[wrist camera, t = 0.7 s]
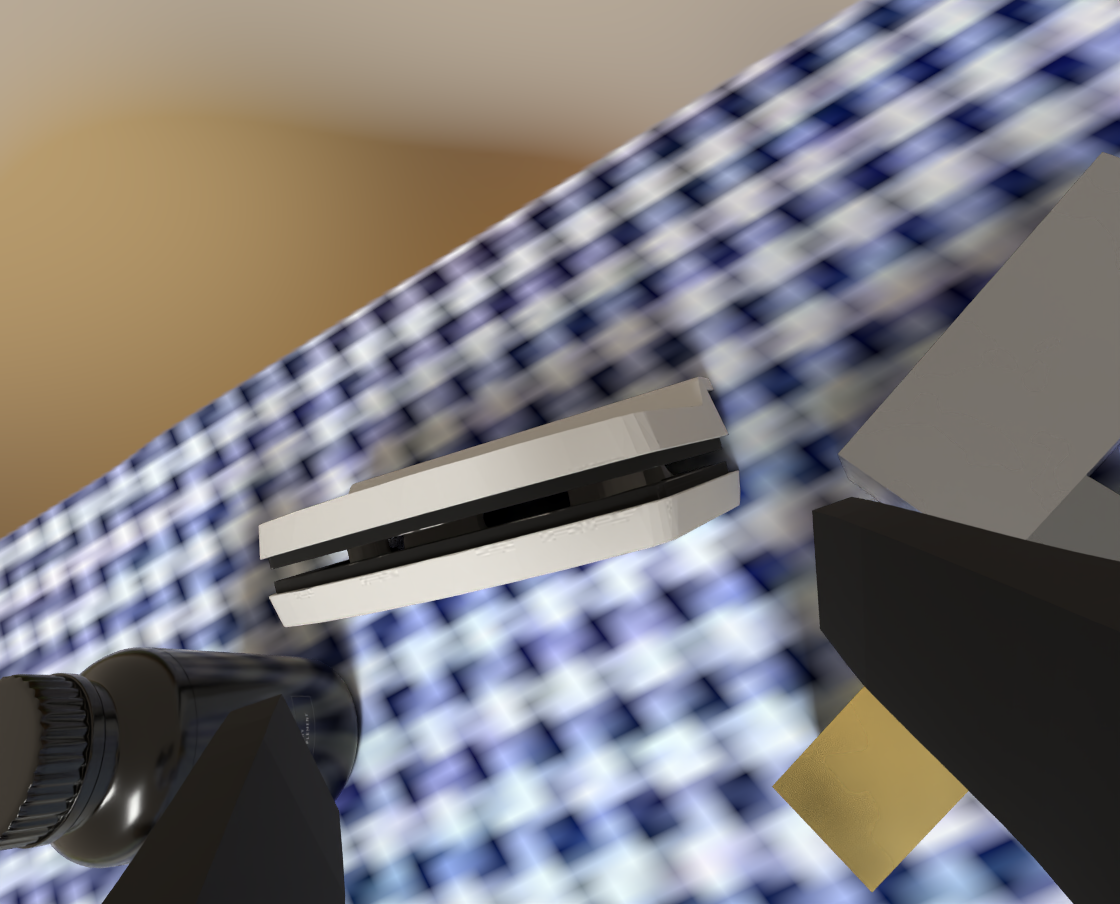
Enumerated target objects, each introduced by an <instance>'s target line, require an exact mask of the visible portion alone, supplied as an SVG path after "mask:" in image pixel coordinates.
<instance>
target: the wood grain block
mask: <svg viewBox="0 0 1120 904" xmlns="http://www.w3.org/2000/svg"><path fill="white" fill-rule="evenodd" d="M772 787H773V788H774V789H775V790H776V791H777V792H778V793H779V794H780V795H781V796H782V798H783V799H784V800H785V801H786V802H787V803H788V804H789V805H790V806H791V807H792V808H793V809H794V810H795V811H796V812H797V813H798V814H799V816H800V817H801V818H802V819H803V820H804V821H805V822H806V823H807V824H808V825H809V826H810V827H811V828H812V829H813V830H814V831H815V832H816V833H817V835H818V836H819V837H820V838H821V839H822V840H823V841H824V842H825V843H826V844H827V845H828V846H829V847H830V848H831V849H832V850H833V851H834V853H835V854H836V855H837V856H838V857H839V858H840V859H841V860H842V861H843V862H844V863H845V864H846V865H847V866H848V867H849V868H850V869H851V871H852V872H853V873H854V874H855V875H856V876H857V877H858V878H859V879H860V880H861V881H862V882H863V883H864V884H865V885H866V886H867V887H868V889H869V890H870V891H871V892H873V891H874V890H875V889H876V888H877V886H878V885H879V884H880V883H881V882H882V881H883V880H884V879H885V878H886V877H887V876H888V875H889V874H890V873H891V872H892V871H893V870H894V869H895V868H896V866H897V865H898V864H899V863H900V862H901V861H902V860H903V859H904V858H905V857H906V856H907V855H908V854H909V853H910V852H911V851H912V850H913V849H914V848H915V846H916V845H917V844H918V843H919V842H920V841H921V840H922V839H923V838H924V837H925V836H926V835H927V834H928V833H929V832H930V831H931V830H932V829H933V828H934V827H935V825H936V824H937V823H938V822H939V821H940V820H941V819H942V818H943V817H944V816H945V815H946V814H947V813H948V812H949V811H950V810H951V809H952V808H953V807H954V805H955V804H956V803H957V802H958V801H959V800H960V799H961V798H962V797H963V796H964V795H965V794H966V793H967V792H968V790H967V789H966V788H965V787H964V786H963V785H962V784H961V783H960V782H959V781H958V780H957V779H956V778H955V777H954V776H953V775H952V774H951V773H950V772H949V771H948V770H947V769H946V768H945V767H944V766H943V765H942V764H941V763H940V762H939V761H938V760H937V759H936V758H935V757H934V756H933V755H932V754H931V753H930V752H929V751H928V750H927V749H926V748H925V747H924V746H923V745H922V744H921V743H920V742H919V741H918V740H917V739H916V738H915V737H914V736H913V735H912V734H911V733H910V732H909V731H908V730H907V729H906V728H905V727H904V726H903V725H902V724H901V723H900V722H899V721H898V720H897V719H896V718H895V717H894V716H893V715H892V714H891V713H890V712H889V711H888V710H887V709H886V708H885V707H884V706H883V705H882V704H881V703H880V702H879V701H878V700H877V699H876V698H875V697H874V696H873V695H872V694H871V693H870V692H869V691H868V690H867V689H866V687H865V686H864V687H863V688H862V689H861V690H860V691H859V692H858V693H857V695H856V696H855V697H854V698H853V699H852V700H851V701H850V702H849V703H848V704H847V705H846V707H845V708H844V709H843V710H842V711H841V712H840V713H839V714H838V715H837V716H836V717H835V719H834V720H833V721H832V722H831V723H830V724H829V725H828V726H827V727H826V728H825V729H824V731H823V732H822V733H821V734H820V735H819V736H818V737H817V738H816V739H815V740H814V741H813V743H812V744H811V745H810V746H809V747H808V748H807V749H806V750H805V751H804V752H803V753H802V755H801V756H800V757H799V758H798V759H797V760H796V761H795V762H794V763H793V764H792V765H791V767H790V768H789V769H788V770H787V771H786V772H785V773H784V774H783V775H782V776H781V778H780V779H779V780H778V781H777V782H776V783H775V784H774V785H773V786H772Z"/></svg>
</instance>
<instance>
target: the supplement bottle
mask: <svg viewBox="0 0 1120 904" xmlns="http://www.w3.org/2000/svg"><path fill="white" fill-rule="evenodd" d="M279 694H282V695H283V697H284V699H285V701H286V703H287V705H288V707H289V709H290V711H291V713H292V715H293V717H294V719H295V721H296V723H297V726H298V728H299V730H300V732H301V734H302V736H303V738H304V740H305V742H306V744H307V746H308V748H309V750H310V752H311V754H312V756H313V758H314V761H315V763H316V765H317V767H318V769H319V771H320V773H321V775H322V777H323V779H324V781H325V783H326V785H327V787H328V789H329V791H330V793H331V796H332V798H333V800H334V802H335V800H336V799H337V798H338V796H339V795H340V793H341V792H342V790H343V788H344V786H345V784H346V782H347V780H348V778H349V775H350V773H351V770H352V767H353V764H354V760H355V755H356V750H357V742H358V722H357V714H356V709H355V705H354V702H353V699H352V696H351V694H350V691H349V689H348V687H347V686H346V684H345V682H344V681H343V679H342V678H341V677H340V676H339V675H338V673H337V672H336V671H334V670H333V669H332V668H331V667H329V666H328V665H326V664H324V663H322V662H320V661H318V660H315V659H310V658H303V657H292V656H277V655H261V654H245V653H230V652H214V651H198V650H182V649H166V648H128V649H124V650H120V651H117V652H115V653H112V654H110V655H107V656H105V657H103V658H102V659H100V660H98V661H96V662H95V663H93V664H92V665H90V666H89V667H88V668H86V669H85V670H84V671H83V672H82V673H81V674H80V675H78V674H68V673H56V674H52V675H28V674H18V675H12V676H7V677H3V678H2V679H1V680H0V850H6V849H12V848H22V849H25V848H33V847H38V846H43V845H47V844H51V846H52V847H53V848H54V849H55V850H56V851H57V852H58V853H59V854H61V855H62V856H63V857H65V858H66V859H68V860H70V861H72V862H74V863H76V864H79V865H82V866H86V867H91V868H106V867H113V866H120V865H125V864H130V862H131V861H132V859H133V858H134V856H135V855H136V853H137V852H138V850H139V849H140V847H141V846H142V844H143V843H144V841H145V840H146V838H147V837H148V835H149V834H150V832H151V831H152V829H153V828H154V826H155V825H156V823H157V822H158V820H159V819H160V817H161V816H162V814H163V813H164V811H165V810H166V808H167V807H168V805H169V804H170V802H171V801H172V799H173V798H174V796H175V795H176V793H177V792H178V790H179V789H180V787H181V785H182V784H183V782H184V781H185V779H186V778H187V776H188V775H189V773H190V772H191V770H192V768H193V767H194V765H195V764H196V762H197V761H198V759H199V758H200V756H201V755H202V753H203V751H204V750H205V748H206V747H207V745H208V744H209V742H210V741H211V739H212V738H213V736H214V735H215V733H216V732H217V730H218V729H219V727H220V726H221V724H222V723H223V721H224V720H225V718H226V717H227V716H228V714H229V713H230V711H233V710H236V709H239V708H242V707H245V706H248V705H250V704H253V703H256V702H259V701H262V700H265V699H268V698H271V697H274V696H277V695H279Z"/></svg>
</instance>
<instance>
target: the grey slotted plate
mask: <svg viewBox="0 0 1120 904" xmlns="http://www.w3.org/2000/svg"><path fill="white" fill-rule="evenodd" d="M1119 444H1120V158H1118V157H1116V156H1113V155H1110V154H1107V153H1104V152H1102V153H1101V154H1100V155H1099V157H1098V158H1097V159H1096V160H1095V161H1094V162H1093V163H1092V165H1091V166H1090V167H1089V168H1088V169H1087V170H1086V171H1085V173H1084V174H1083V175H1082V176H1081V177H1080V178H1079V179H1078V181H1077V182H1076V183H1075V184H1074V185H1073V186H1072V187H1071V189H1070V190H1069V191H1068V192H1067V193H1066V194H1065V195H1064V197H1063V198H1062V199H1061V200H1060V201H1059V202H1058V203H1057V205H1056V206H1055V207H1054V208H1053V209H1052V210H1051V211H1050V213H1049V214H1048V215H1047V216H1046V217H1045V218H1044V219H1043V221H1042V222H1041V223H1040V224H1039V225H1038V226H1037V227H1036V229H1035V230H1034V231H1033V232H1032V233H1031V234H1030V235H1029V236H1028V238H1027V239H1026V240H1025V241H1024V242H1023V243H1022V244H1021V246H1020V247H1019V248H1018V249H1017V250H1016V251H1015V252H1014V254H1013V255H1012V256H1011V257H1010V258H1009V259H1008V260H1007V262H1006V263H1005V264H1004V265H1003V266H1002V267H1001V268H1000V270H999V271H998V272H997V273H996V274H995V275H994V276H993V278H992V279H991V280H990V281H989V282H988V283H987V284H986V286H985V287H984V288H983V289H982V290H981V291H980V292H979V294H978V295H977V296H976V297H975V298H974V299H973V300H972V302H971V303H970V304H969V305H968V306H967V307H966V308H965V310H964V311H963V312H962V313H961V314H960V315H959V316H958V318H957V319H956V320H955V321H954V322H953V323H952V324H951V325H950V327H949V328H948V329H947V330H946V331H945V332H944V333H943V335H942V336H941V337H940V338H939V339H938V340H937V341H936V343H935V344H934V345H933V346H932V347H931V348H930V349H929V351H928V352H927V353H926V354H925V355H924V356H923V357H922V359H921V360H920V361H919V362H918V363H917V364H916V365H915V367H914V368H913V369H912V370H911V371H910V372H909V373H908V375H907V376H906V377H905V378H904V379H903V380H902V381H901V383H900V384H899V385H898V386H897V387H896V388H895V389H894V391H893V392H892V393H891V394H890V395H889V396H888V397H887V399H886V400H885V401H884V402H883V403H882V404H881V405H880V406H879V408H878V409H877V410H876V411H875V412H874V413H873V414H872V416H871V417H870V418H869V419H868V420H867V421H866V422H865V424H864V425H863V426H862V427H861V428H860V429H859V430H858V432H857V433H856V434H855V435H854V436H853V437H852V438H851V440H850V441H849V442H848V443H847V444H846V445H845V446H844V448H843V449H842V450H841V451H840V452H839V453H838V455H839V458H840V460H841V463H842V465H843V467H844V470H845V472H846V474H847V477H848V479H849V480H850V481H852V482H853V483H855V484H856V485H858V486H859V487H860V488H862V489H863V490H865V491H866V492H867V493H869V494H870V495H872V496H873V497H874V498H876V499H877V500H879V501H880V502H881V503H884V504H888V505H893V506H897V507H901V508H905V509H909V510H913V511H916V512H920V513H924V514H928V515H932V516H936V517H939V518H943V519H947V520H951V521H955V522H958V523H962V524H966V525H970V526H974V527H978V528H981V529H985V530H989V531H993V532H997V533H1001V534H1005V535H1009V536H1013V537H1016V538H1020V539H1024V540H1028V541H1033V542H1037V543H1041V544H1045V545H1049V546H1053V547H1057V548H1062V549H1066V550H1070V551H1074V552H1079V553H1083V554H1088V555H1093V556H1097V557H1102V558H1107V559H1111V560H1116V561H1120V495H1119V494H1117V493H1116V492H1114V491H1112V490H1110V489H1109V488H1107V487H1105V486H1104V485H1102V484H1100V483H1098V482H1097V481H1095V480H1093V479H1092V478H1090V477H1089V476H1090V475H1091V474H1092V473H1093V472H1094V471H1095V470H1096V469H1097V468H1098V467H1099V465H1100V464H1101V463H1102V462H1103V461H1104V460H1105V459H1106V458H1107V457H1108V456H1109V455H1110V454H1111V452H1112V451H1113V450H1114V449H1115V448H1116V447H1117V446H1118V445H1119Z"/></svg>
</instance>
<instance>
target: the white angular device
mask: <svg viewBox="0 0 1120 904" xmlns="http://www.w3.org/2000/svg"><path fill="white" fill-rule="evenodd" d="M712 390H714V389H713V387H712V385H711V383H710V380H709V378H704V377H696V378H693V379H690V380H686V381H683V382H680V383H677V384H674V385H670V386H667V387H664V388H661V389H658V390H654V391H651V392H648V393H645V394H641V395H638V396H635V397H632V398H629V399H625V400H622V401H619V402H616V403H612V404H609V405H606V406H603V407H600V408H596V409H593V410H590V411H587V412H584V413H580V414H577V415H574V416H571V417H567V418H564V419H561V420H558V421H555V422H551V423H548V424H545V425H542V426H539V427H535V428H532V429H529V430H526V431H522V432H519V433H516V434H513V435H510V436H506V437H503V438H500V439H497V440H494V441H490V442H487V443H484V444H481V445H477V446H474V447H471V448H468V449H465V450H461V451H458V452H455V453H452V454H449V455H445V456H442V457H439V458H436V459H432V460H429V461H426V462H423V463H420V464H416V465H413V466H410V467H407V468H404V469H400V470H397V471H394V472H391V473H387V474H384V475H381V476H378V477H375V478H371V479H368V480H365V481H362V482H359V483H355V484H353V485H352V486H351V488H350V491H349V494H348V495H344V496H341V497H338V498H335V499H332V500H329V501H326V502H323V503H320V504H317V505H314V506H311V507H308V508H305V509H302V510H299V511H296V512H293V513H290V514H288V515H285V516H282V517H279V518H277V519H274V520H271V521H269V522H266V523H263V524H261V525H259V546H260V559H261V560H262V559H266V558H268V559H269V563H270V567H271V569H275V568H278V567H282V566H286V565H290V564H294V563H297V562H301V561H305V560H309V559H313V558H316V557H320V556H324V555H328V554H332V553H335V552H339V551H343V550H347V551H348V556H349V560H345V561H342V562H339V563H335V564H332V565H329V566H325V567H322V568H319V569H315V570H312V571H309V572H305V573H302V574H299V575H295V576H292V577H289V578H285V579H282V580H279V581H276V582H274V583H275V588H276V593H275V594H273V595H271V596H269V598H270V600H271V602H272V604H273V606H274V608H275V610H276V612H277V614H278V616H279V618H280V620H281V622H282V624H283V625H284V627H291V626H300V625H307V624H314V623H321V622H327V621H332V620H338V619H343V618H349V617H355V616H360V615H366V614H371V613H376V612H381V611H386V610H390V609H395V608H400V607H405V606H410V605H415V604H419V603H424V602H429V601H433V600H438V599H442V598H447V597H452V596H456V595H461V594H465V593H469V592H473V591H478V590H482V589H486V588H490V587H494V586H499V585H503V584H507V583H511V582H516V581H520V580H524V579H528V578H532V577H536V576H540V575H544V574H549V573H553V572H557V571H561V570H565V569H569V568H573V567H577V566H581V565H584V564H588V563H592V562H596V561H600V560H604V559H608V558H612V557H615V556H619V555H623V554H627V553H631V552H635V551H639V550H643V549H647V548H650V547H654V546H657V545H660V544H663V543H666V542H669V541H672V540H675V539H677V538H679V537H681V536H683V535H685V534H686V533H688V532H690V531H692V530H694V529H696V528H698V527H699V526H701V525H703V524H705V523H707V522H709V521H711V520H713V519H714V518H716V517H718V516H720V515H722V514H724V513H726V512H727V511H729V510H731V509H733V508H735V507H737V506H739V505H740V481H739V471H733V472H729V471H728V468H727V464H726V462H722V463H718V464H714V465H710V466H706V467H703V468H699V469H695V470H691V471H687V472H683V473H680V474H677V475H673V474H672V473H671V472H669V471H668V470H667V469H666V467H665V465H666V464H669V463H673V462H676V461H680V460H684V459H687V458H691V457H695V456H698V455H702V454H705V453H709V452H713V451H716V450H720V449H722V446H721V443H720V439H719V437H722V436H725V435H729V434H728V432H727V430H726V428H725V426H724V424H723V422H722V420H721V418H720V416H719V414H718V412H717V409H716V407H715V405H714V403H713V401H712V399H711V397H710V395H709V393H708V392H709V391H712ZM565 491H567V492H568V494H569V497H570V507H567V508H563V509H559V510H555V511H551V512H547V513H543V514H539V515H535V516H531V517H528V518H524V519H520V520H516V521H512V522H508V523H504V524H500V525H496V526H492V527H487V526H486V524H485V521H484V519H483V513H486V512H490V511H494V510H497V509H501V508H505V507H509V506H512V505H516V504H520V503H524V502H527V501H531V500H535V499H539V498H542V497H546V496H550V495H554V494H557V493H561V492H565ZM400 535H403V536H404V547H405V549H402V550H398V549H397V547H393V548H390V545H389V542H388V538H392V537H396V536H400Z"/></svg>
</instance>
